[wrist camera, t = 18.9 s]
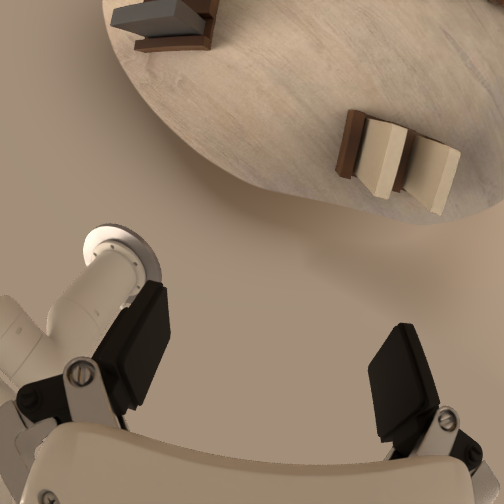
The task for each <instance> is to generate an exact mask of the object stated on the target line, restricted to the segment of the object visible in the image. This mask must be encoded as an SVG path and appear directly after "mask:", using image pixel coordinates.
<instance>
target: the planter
mask: <svg viewBox="0 0 504 504" xmlns="http://www.w3.org/2000/svg"><path fill="white" fill-rule="evenodd" d="M488 1H490V2H492V3H493V4H496V5H499V6H502V7H504V0H488Z"/></svg>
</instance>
